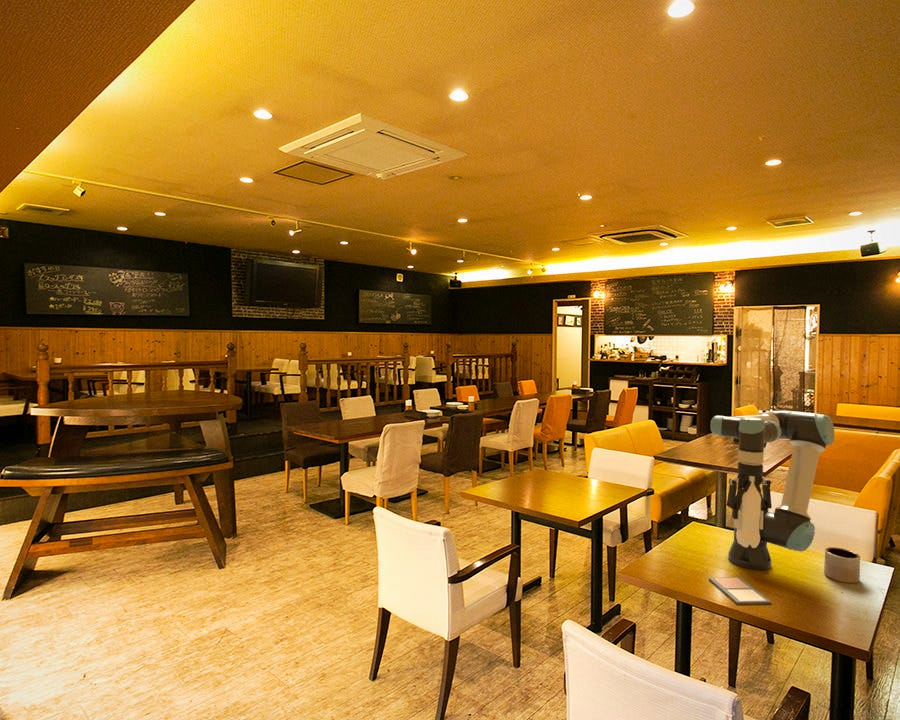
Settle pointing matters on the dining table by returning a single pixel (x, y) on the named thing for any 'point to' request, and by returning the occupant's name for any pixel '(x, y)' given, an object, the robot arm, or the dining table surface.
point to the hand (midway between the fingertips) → (748, 528)
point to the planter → (842, 565)
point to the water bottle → (750, 517)
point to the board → (739, 591)
